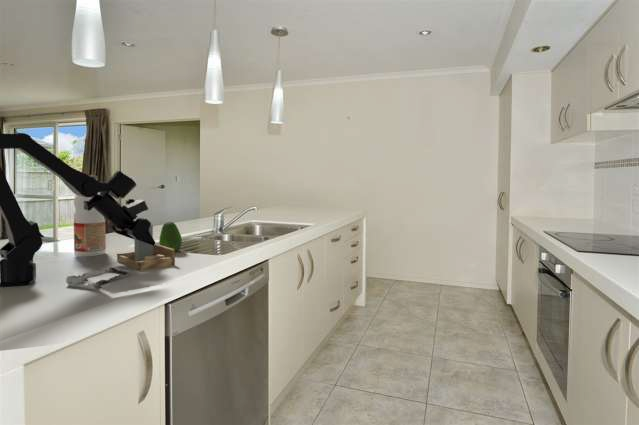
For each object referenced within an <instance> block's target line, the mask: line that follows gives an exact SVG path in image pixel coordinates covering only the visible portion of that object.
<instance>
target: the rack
mask: <svg viewBox="0 0 639 425" xmlns="http://www.w3.org/2000/svg"><path fill="white" fill-rule="evenodd" d="M158 254H160V255H164V256H165V258H160V259H153V260H145V261H136V260H135V251H127V252H120V253H117V254H116V262H118V263H121V264H123V265H125V266H128V267H130V268H132V269H135V270H137V271H145V270H153V269H159V268H166V267H171V266H175V264H176V263H175V262H176V259H175V258H176V256H175V255H176V252H175V249H172V248H168V247H165V246H162V245H160V244H159V243H158V244H157V243H155V244H154V245H153V255H158Z"/></svg>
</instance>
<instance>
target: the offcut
mask: <svg viewBox="0 0 639 425" xmlns="http://www.w3.org/2000/svg"><path fill="white" fill-rule="evenodd" d="M160 258H165V256H164V255H160V254H158V255H152V256H146V257H145V260H153V259H160Z"/></svg>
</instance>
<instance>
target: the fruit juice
mask: <svg viewBox="0 0 639 425" xmlns="http://www.w3.org/2000/svg"><path fill="white" fill-rule="evenodd" d="M90 176H91V177H93V178H95V179H96V180H97V181H98V175H90ZM100 193H101V192H98V195H99V194H100ZM91 198H92V197H83V196H78V195H76V194H75V196H74V199H73V204H74V205H73V206H74V208H75V211H74V214H73V247H74V248H73V253H74V257H75V258H79V257H95V256H100V255H105V254H106V253H107V250H106V249H107V248H106V247H107V244H106V243H107V242H106V235H107V233H106V220H105V219H104V216H102V215H101V214H100V213H99V212H98V211H97V210H96V209H94V208H92V209H91V210H90V211H88V210H84V201H89V200H90V199H91Z"/></svg>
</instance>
